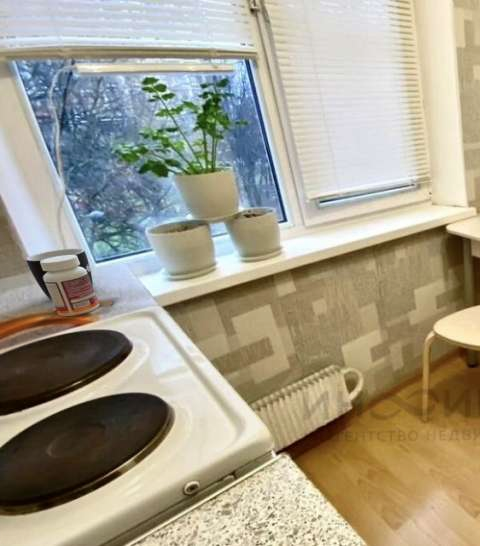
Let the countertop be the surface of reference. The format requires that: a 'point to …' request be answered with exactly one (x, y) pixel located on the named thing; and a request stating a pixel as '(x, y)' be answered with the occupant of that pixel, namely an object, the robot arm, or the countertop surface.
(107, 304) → the cork mat
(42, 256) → the mug
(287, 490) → the countertop surface
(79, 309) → the pill bottle
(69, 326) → the countertop surface
